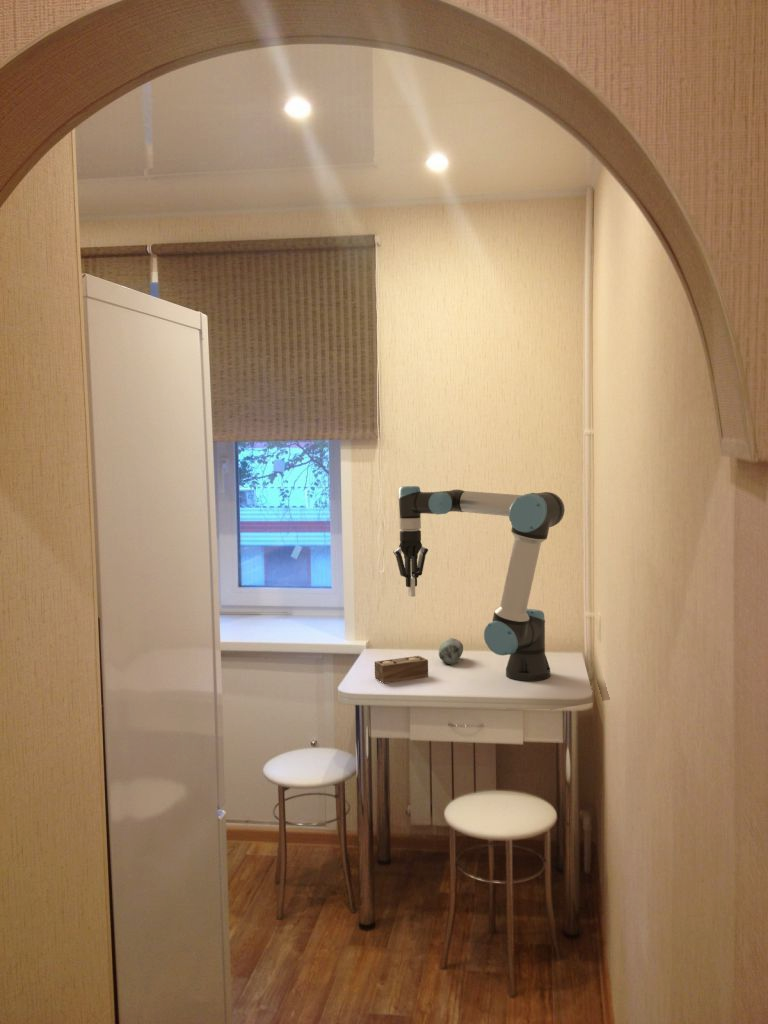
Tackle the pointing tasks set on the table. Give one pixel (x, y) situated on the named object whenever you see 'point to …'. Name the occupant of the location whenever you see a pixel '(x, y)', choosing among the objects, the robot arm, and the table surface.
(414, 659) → the peg right
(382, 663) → the peg left
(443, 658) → the grey green ridged egg
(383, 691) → the table surface
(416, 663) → the walnut block
